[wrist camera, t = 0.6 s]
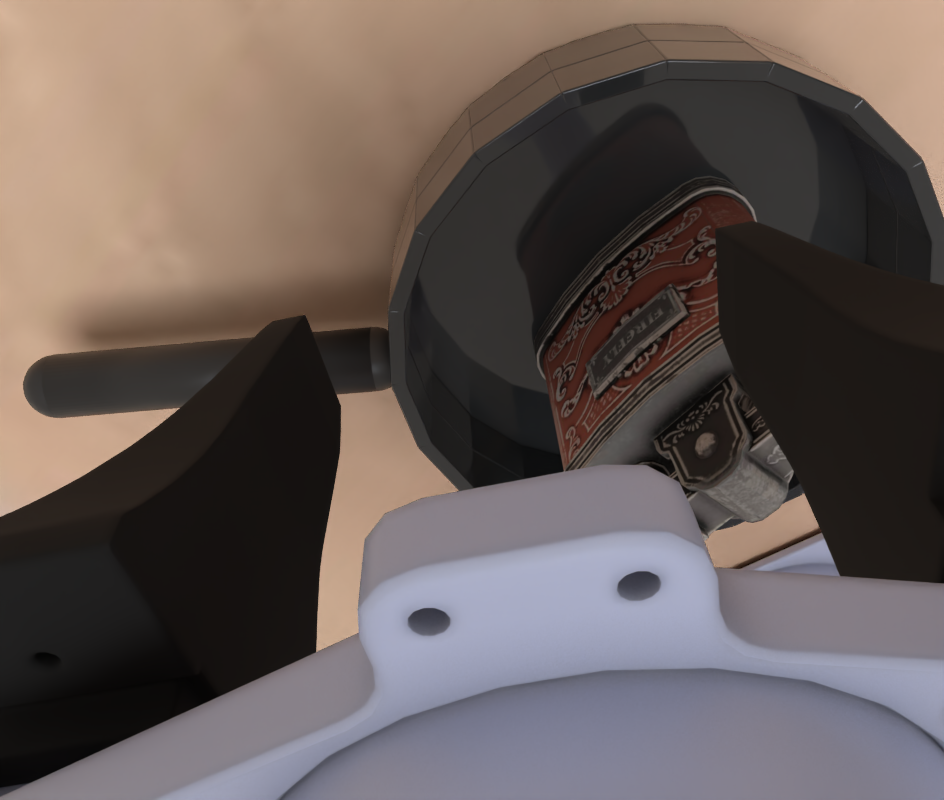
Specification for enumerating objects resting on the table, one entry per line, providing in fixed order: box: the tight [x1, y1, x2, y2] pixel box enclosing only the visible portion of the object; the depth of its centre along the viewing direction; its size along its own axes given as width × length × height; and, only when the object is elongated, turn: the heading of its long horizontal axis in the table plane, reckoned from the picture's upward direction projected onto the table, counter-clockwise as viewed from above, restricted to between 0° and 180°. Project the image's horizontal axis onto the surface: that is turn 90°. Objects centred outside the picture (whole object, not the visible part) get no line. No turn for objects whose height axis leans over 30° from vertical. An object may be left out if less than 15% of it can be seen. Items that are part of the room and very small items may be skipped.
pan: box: [388, 24, 944, 531], centre depth 23 cm, size 15×15×4 cm
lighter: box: [534, 176, 794, 541], centre depth 21 cm, size 8×3×10 cm, turn 141°
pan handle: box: [23, 327, 391, 418], centre depth 23 cm, size 11×2×2 cm, turn 94°
